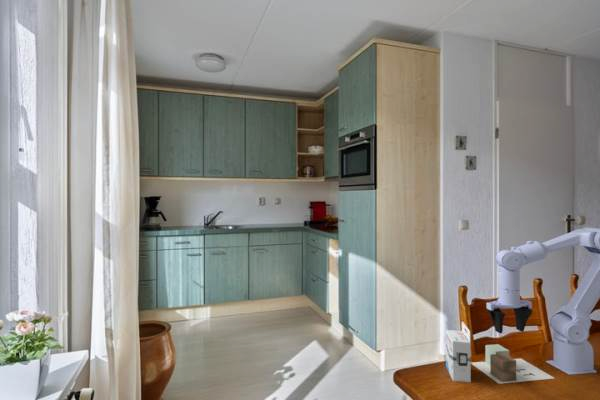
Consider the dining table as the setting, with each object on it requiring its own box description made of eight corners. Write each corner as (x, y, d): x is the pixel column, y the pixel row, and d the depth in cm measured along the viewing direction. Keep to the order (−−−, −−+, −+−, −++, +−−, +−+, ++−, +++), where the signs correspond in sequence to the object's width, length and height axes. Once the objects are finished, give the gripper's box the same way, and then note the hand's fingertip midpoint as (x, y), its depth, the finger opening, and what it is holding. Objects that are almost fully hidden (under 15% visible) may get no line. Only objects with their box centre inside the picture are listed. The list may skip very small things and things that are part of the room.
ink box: (445, 367, 101) (445, 319, 101) (462, 368, 100) (462, 320, 100) (452, 382, 93) (452, 330, 93) (471, 384, 92) (471, 331, 92)
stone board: (520, 359, 106) (520, 358, 106) (555, 379, 94) (555, 378, 94) (470, 364, 103) (470, 362, 103) (498, 385, 91) (498, 383, 91)
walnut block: (504, 371, 98) (503, 353, 98) (516, 379, 93) (516, 360, 93) (490, 373, 97) (490, 354, 97) (502, 381, 92) (502, 361, 92)
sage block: (498, 361, 104) (498, 344, 104) (509, 368, 99) (509, 350, 99) (485, 362, 103) (485, 345, 103) (496, 369, 99) (496, 351, 99)
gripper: (519, 284, 109) (519, 325, 109) (479, 286, 107) (479, 327, 107) (537, 289, 102) (537, 333, 102) (495, 292, 100) (496, 336, 100)
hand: (509, 331), depth 104 cm, fingers open, 7 cm apart
